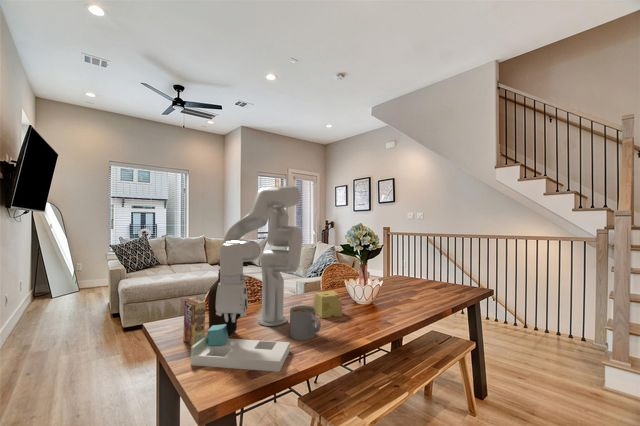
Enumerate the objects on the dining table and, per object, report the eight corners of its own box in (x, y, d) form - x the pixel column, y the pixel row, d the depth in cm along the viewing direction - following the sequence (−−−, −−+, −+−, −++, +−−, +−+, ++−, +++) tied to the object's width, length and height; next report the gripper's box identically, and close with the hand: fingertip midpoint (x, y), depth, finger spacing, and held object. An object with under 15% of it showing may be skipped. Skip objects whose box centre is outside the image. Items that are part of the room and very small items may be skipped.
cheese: (342, 316, 141) (342, 295, 141) (320, 319, 137) (321, 297, 137) (333, 310, 150) (333, 290, 150) (313, 312, 146) (313, 291, 146)
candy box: (205, 344, 108) (206, 301, 108) (193, 347, 104) (194, 303, 105) (194, 337, 114) (195, 296, 114) (182, 340, 111) (183, 299, 111)
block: (214, 339, 104) (212, 325, 104) (228, 338, 104) (227, 324, 104) (208, 346, 99) (207, 330, 99) (223, 344, 99) (222, 329, 99)
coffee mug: (284, 334, 118) (285, 308, 118) (304, 328, 125) (305, 304, 125) (305, 345, 108) (306, 317, 108) (326, 338, 115) (326, 311, 115)
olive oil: (205, 339, 112) (207, 272, 112) (208, 329, 122) (210, 267, 123) (235, 337, 114) (236, 271, 115) (235, 327, 125) (237, 267, 125)
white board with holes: (212, 346, 106) (212, 330, 106) (289, 351, 103) (289, 335, 103) (190, 365, 92) (190, 347, 92) (279, 371, 89) (279, 353, 89)
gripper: (256, 277, 105) (256, 329, 105) (215, 276, 107) (215, 327, 107) (248, 282, 98) (248, 338, 98) (205, 280, 100) (205, 336, 100)
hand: (231, 332), depth 103 cm, fingers closed
